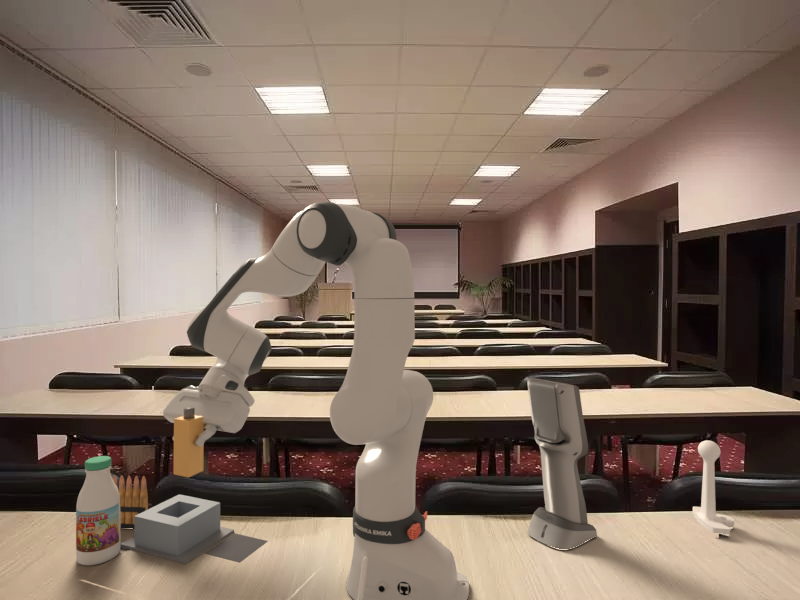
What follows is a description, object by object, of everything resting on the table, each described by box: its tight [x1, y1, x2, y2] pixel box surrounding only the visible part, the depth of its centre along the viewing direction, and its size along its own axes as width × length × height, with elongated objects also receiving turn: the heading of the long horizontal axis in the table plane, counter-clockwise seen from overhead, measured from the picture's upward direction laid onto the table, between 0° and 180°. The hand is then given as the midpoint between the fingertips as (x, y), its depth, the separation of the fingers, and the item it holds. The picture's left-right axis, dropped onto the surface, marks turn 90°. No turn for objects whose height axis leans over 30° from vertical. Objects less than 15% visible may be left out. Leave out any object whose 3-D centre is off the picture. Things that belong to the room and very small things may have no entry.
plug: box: [173, 407, 205, 478], centre depth 106 cm, size 4×4×14 cm
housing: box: [120, 494, 235, 565], centre depth 107 cm, size 18×14×7 cm
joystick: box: [692, 439, 735, 535], centre depth 113 cm, size 11×8×20 cm
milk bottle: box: [75, 455, 122, 566], centre depth 100 cm, size 8×8×20 cm
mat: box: [203, 532, 269, 563], centre depth 103 cm, size 9×9×1 cm
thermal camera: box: [527, 377, 598, 549], centre depth 109 cm, size 12×13×35 cm
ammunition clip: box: [112, 474, 150, 530], centre depth 112 cm, size 11×2×12 cm, turn 86°
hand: (186, 443), depth 106 cm, fingers closed on plug, 4 cm apart
